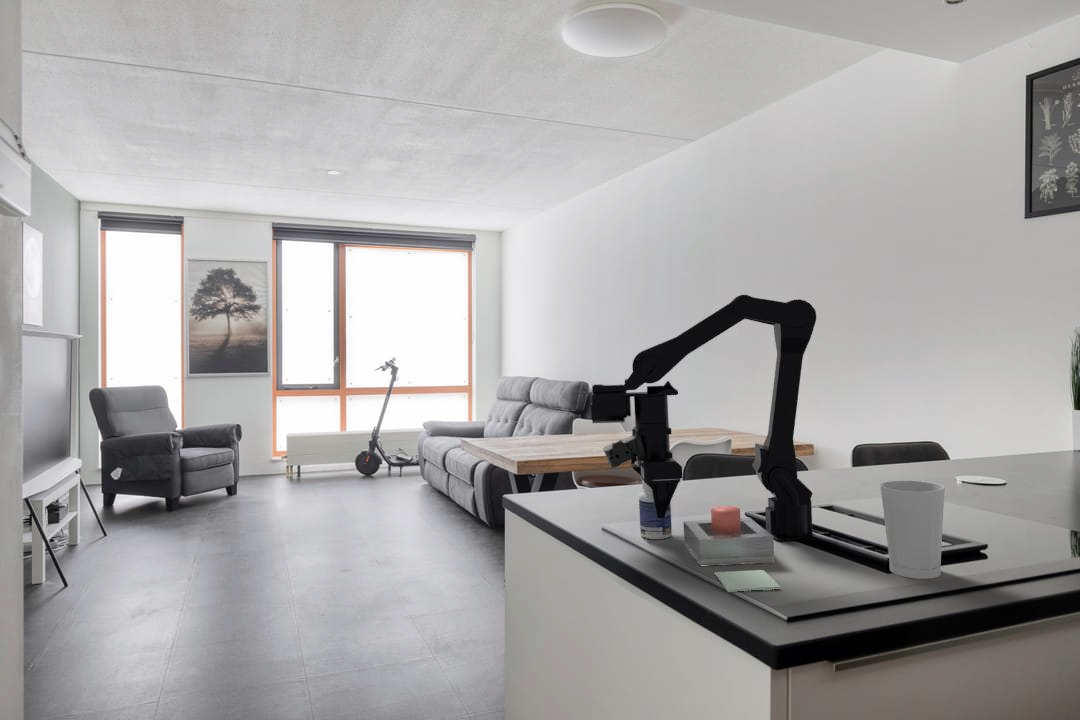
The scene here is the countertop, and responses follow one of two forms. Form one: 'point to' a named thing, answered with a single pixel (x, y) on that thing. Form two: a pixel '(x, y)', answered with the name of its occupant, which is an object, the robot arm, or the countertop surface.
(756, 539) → the frame
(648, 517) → the pill bottle
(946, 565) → the countertop surface
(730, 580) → the pad
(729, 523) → the plunger
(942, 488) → the cup
